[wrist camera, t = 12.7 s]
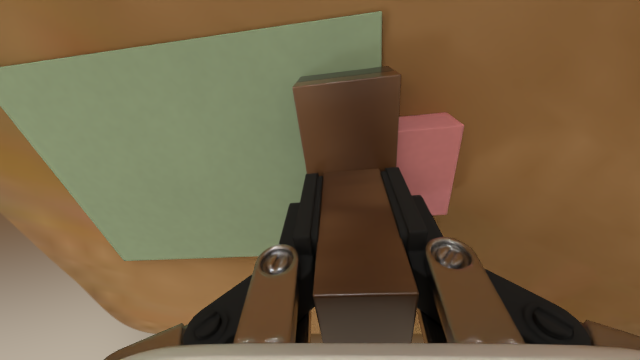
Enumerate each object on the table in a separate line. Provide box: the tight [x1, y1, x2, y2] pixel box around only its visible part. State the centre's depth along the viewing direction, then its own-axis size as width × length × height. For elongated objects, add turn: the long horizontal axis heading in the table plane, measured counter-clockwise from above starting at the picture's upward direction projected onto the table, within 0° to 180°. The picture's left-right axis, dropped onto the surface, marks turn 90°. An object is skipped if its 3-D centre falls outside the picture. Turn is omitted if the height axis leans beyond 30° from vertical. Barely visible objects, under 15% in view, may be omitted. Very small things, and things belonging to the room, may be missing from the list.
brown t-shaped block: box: [292, 66, 419, 343], centre depth 10 cm, size 4×10×8 cm, turn 7°
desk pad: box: [0, 11, 382, 261], centre depth 15 cm, size 20×14×1 cm
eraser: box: [396, 112, 464, 215], centre depth 13 cm, size 3×5×2 cm, turn 7°
